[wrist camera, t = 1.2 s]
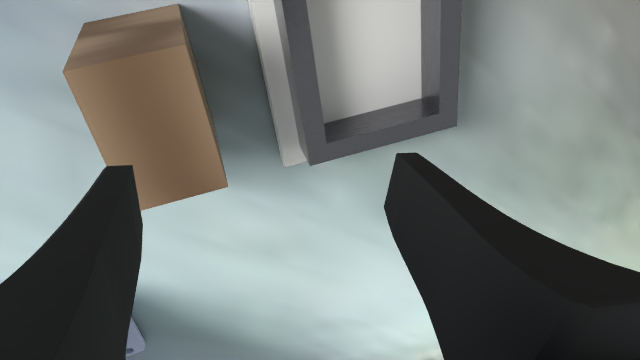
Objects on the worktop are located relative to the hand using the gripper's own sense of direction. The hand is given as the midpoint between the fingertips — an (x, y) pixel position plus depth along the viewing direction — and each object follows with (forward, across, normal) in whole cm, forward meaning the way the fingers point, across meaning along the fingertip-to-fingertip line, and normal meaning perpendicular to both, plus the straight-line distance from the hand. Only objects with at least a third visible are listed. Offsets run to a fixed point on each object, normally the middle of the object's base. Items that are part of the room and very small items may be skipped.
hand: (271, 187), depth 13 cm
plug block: (+11, +4, +2) cm, 12 cm away
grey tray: (+12, -6, 0) cm, 13 cm away
